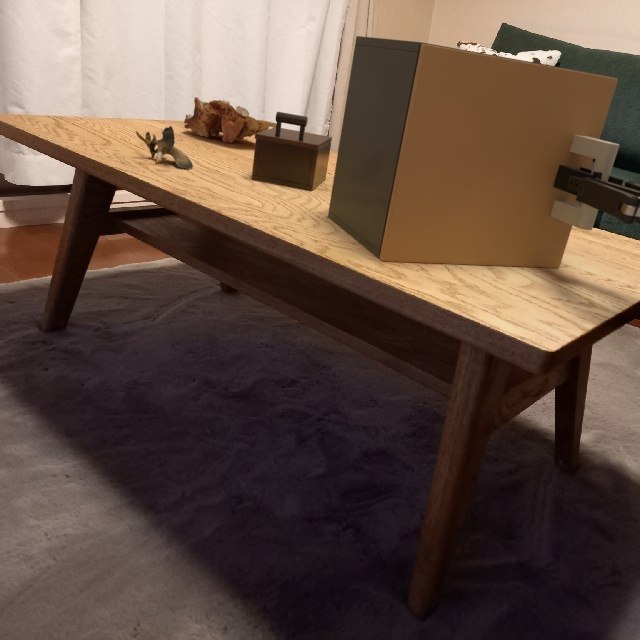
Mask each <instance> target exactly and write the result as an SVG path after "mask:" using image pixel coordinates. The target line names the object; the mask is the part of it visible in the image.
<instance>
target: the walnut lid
mask: <svg viewBox="0 0 640 640" xmlns="http://www.w3.org/2000/svg"><path fill="white" fill-rule="evenodd" d="M308 120H309V119H308V116H305V115H300V114H293V113H287V112H281V111H276V114H275V123H276V127H274V128H273V127H271V128H269V129H267V130H265V131H262V132H259V133H256V134H254V139H255V140H256V139H260V140H266V141H271V142H277V143H282V144H288V145H293V146H299V147H304V148H309V149H315V150H318V149H319V148H321V147H323V146H325V145H326V144H328V143H330V142H331V143H332V140H333V136H328V135H323V134H318V133H311V132H305V131H306V127H307V125H308ZM282 124H286V125H287V124H288V125H293V126H297V127H299V130H294V129H290V128H284V127H282Z"/></svg>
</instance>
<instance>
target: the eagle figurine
mask: <svg viewBox="0 0 640 640" xmlns="http://www.w3.org/2000/svg"><path fill="white" fill-rule="evenodd" d="M150 133H151V132H150V131H147V132H146V133H145V136H144V137H143V136H142V134H140V133H139V131H137V130H135V134H136V136H137V138H138V139H140V140H141V141H142V142H143V143H144V144H145V145H146V146H147V149H148V150H149V152H150V155H151V158H152V159H154V158H155V156H156V160H155V164H156V163H157V164H158V163H159V162H162V160H163V158H164V156H165V155H170V156H171V158H172V159H173V160H174V161H175V164H176V166H177V168H181V169H184V168H190V169H192V168H193V167H194V164H193V162H192V160H191V159H190V157H188V155H186V154H185V152H183V151H182V150H181V149H179V148H177V147H175V143H176V142H175V139H176V137H175V131H174V128H173V126H172V125H169V126H168V127H165V128H164V129H163V128H161V134H162V138H160V139H158V138H157V137H156V135H155V134H154V133H153V134H152V136H151V134H150ZM156 147H157V148H156Z"/></svg>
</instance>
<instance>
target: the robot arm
mask: <svg viewBox="0 0 640 640" xmlns="http://www.w3.org/2000/svg"><path fill="white" fill-rule="evenodd" d="M591 172H592V169H591V168H590V169H588V168H583V167H580V170H577V169H574V168H571V167H568V166H565V165H559V169H558V172H557V175H556V179H555V182H554V186H553V187H554V188H557V189H560V190H562V191H565V192H568V193H571V194H573V195H576V196H577V197H576V200H577V201H579V202H580V203H581V204H582V203H584V204H586V205H588V206H591V207H593V208H595V209H598V211H600V212H602V213H605V214H607V215H610V216H612V217H614V218H615V219H617V220H618V221H620V222H621V223H623V224H626V225H632V224H634V223H637V224H640V183H637V182H635V181H632V180H629V181H625V182H624V179H623V178H620V177H616V176H614V175H610V176H609V179H608V182H607V181H604V180H601V179H602V177H601V176H602V172H597V171H593V174H591ZM580 203H579V204H580Z"/></svg>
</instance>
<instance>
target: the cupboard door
mask: <svg viewBox="0 0 640 640" xmlns="http://www.w3.org/2000/svg"><path fill="white" fill-rule="evenodd" d="M439 46H440V45H439ZM439 46H433V45H427V44H421V48H420V53H419V58H418V64H417V69H416V74H415V79H414V84H413V89H412V94H411V99H410V104H409V110H408V115H407V120H406V125H405V130H404V135H403V140H402V145H401V150H400V155H399V161H398V166H397V171H396V176H395V181H394V186H393V191H392V196H391V201H390V207H389V212H388V217H387V222H386V227H385V232H384V237H383V242H382V247H381V253H380V258H379V260H381V261H382V262H393V263H394V262H395V263H417V264H418V263H419V264H443V265H445V264H447V265H466V266H467V265H470V266H493V267H494V266H495V267H496V266H497V267H522V268H523V267H524V268H545V269H547V268H548V269H560V268H561V265H562V260H563V258H564V255H565V251H566V248H567V245H568V241H569V238H570V235H571V232H572V228H573V227H575V228H577V229H580V230H584V231H592V230H593V228H594V225H595V222H596V218H597V215H598V212H599V210H598V209H595V208H593V207H591V206H588V205H586V204H584V203H581V204H580V202H579V201H577V200H576V197H577V196H576V195H573V194H571V193H568V192H565V191H562V190H560V189H557V188H554V187H553V186H554V182H555V179H556V175H557V172H558V169H559V165H565V166H568V167H571V168H574V169H577V170H580V167H583V168H588V169H591V168H592V169H591V170H592V172H591V174H593V171H597V172H602V176H601V177H602V179H601V180H604V181H607V182H608V179H609V176H611V173H612V169H613V167H614V163H615V160H616V158H617V155H618V151H619V148H620V144H619V143H617V142H612V141H609V140H604V139H600V138H601V135H602V132H603V129H604V126H605V123H606V119H607V117H608V113H609V111H610V106H611V104H612V101H613V98H614V94H615V91H616V88H617V84H618V81H619V78H618V77H612V76H611V77H606V76H601V75H602V74H601V75H595V74H596V73H595V74H590V73H591V72H590V73H584V72H585V71H584V72H578V71H573V70H574V69H573V70H567V69H562V68H563V67H562V68H556V67H557V66H556V67H550V66H545V65H546V64H545V65H539V64H534V63H535V62H534V63H528V62H522V61H517V60H518V59H517V60H511V59H506V58H507V57H506V58H500V57H494V56H489V55H483V54H478V53H479V52H478V53H472V52H467V51H468V50H467V51H461V50H455V49H450V48H444V47H439ZM593 161H594V163H593ZM592 165H593V166H592Z"/></svg>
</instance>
